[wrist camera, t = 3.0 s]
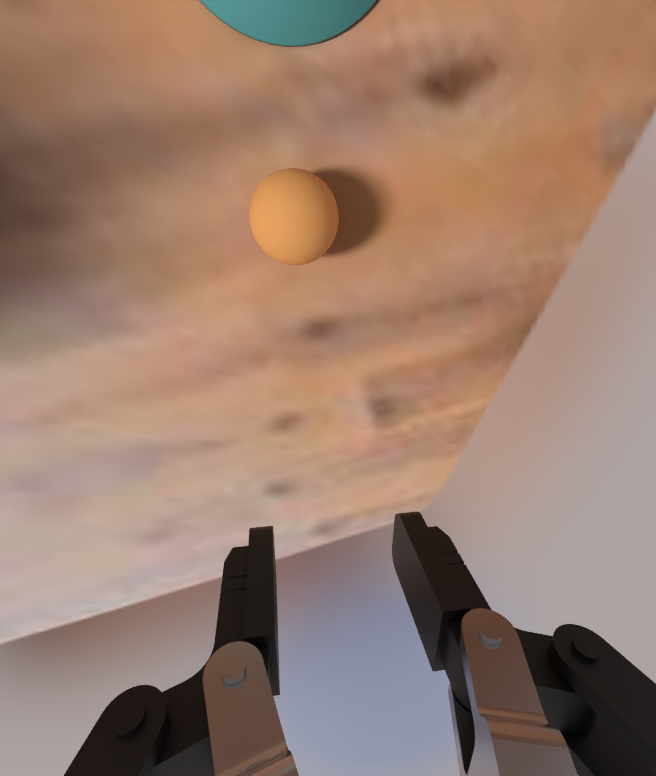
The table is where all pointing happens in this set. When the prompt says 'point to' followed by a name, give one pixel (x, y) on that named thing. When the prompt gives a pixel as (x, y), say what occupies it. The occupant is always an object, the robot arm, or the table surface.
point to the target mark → (289, 18)
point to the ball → (294, 216)
